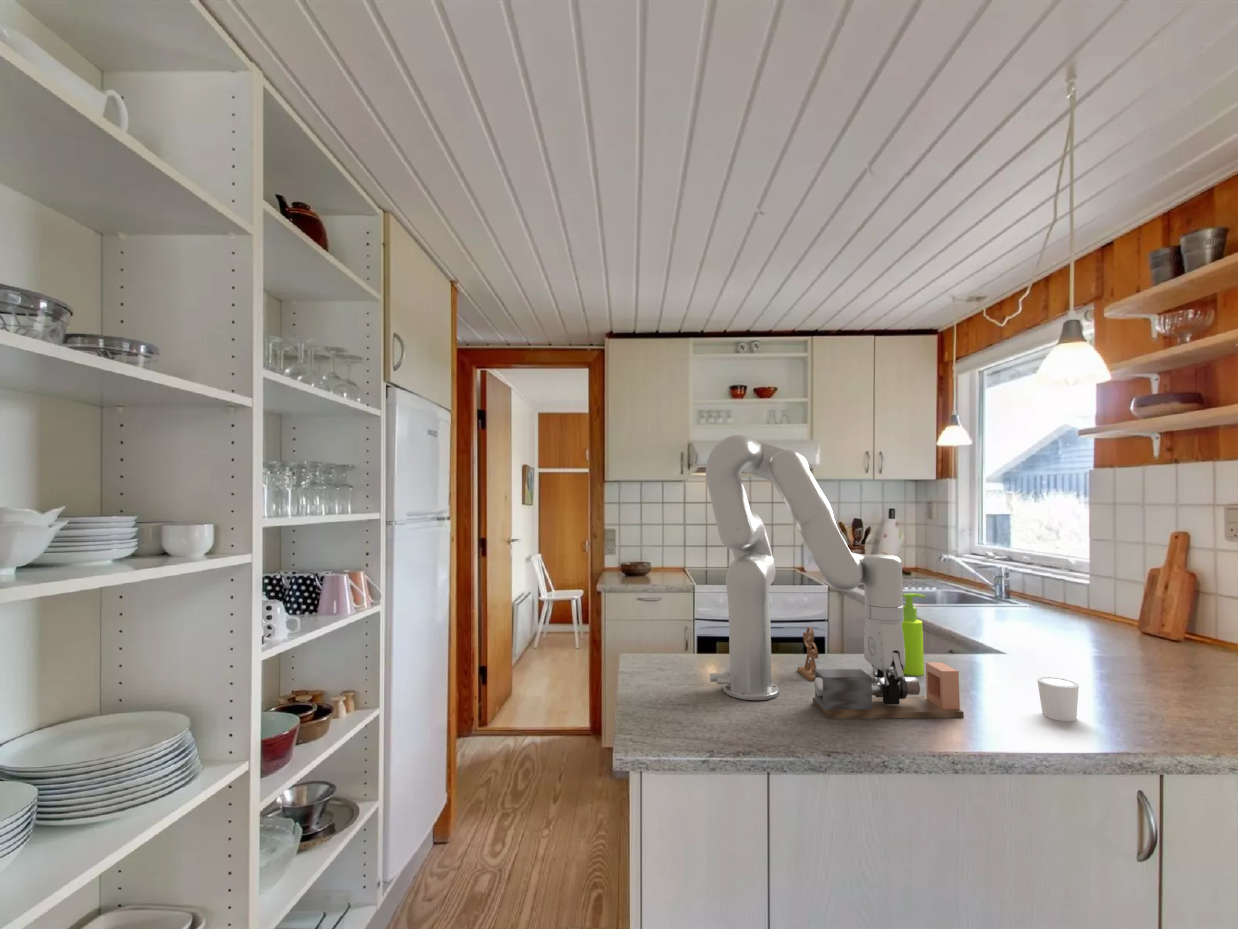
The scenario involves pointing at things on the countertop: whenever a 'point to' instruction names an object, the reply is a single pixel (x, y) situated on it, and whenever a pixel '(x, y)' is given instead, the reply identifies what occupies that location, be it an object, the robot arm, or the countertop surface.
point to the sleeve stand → (868, 699)
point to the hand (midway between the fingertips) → (886, 699)
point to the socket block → (942, 685)
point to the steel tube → (905, 688)
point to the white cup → (1058, 698)
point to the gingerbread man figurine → (811, 666)
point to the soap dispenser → (912, 637)
